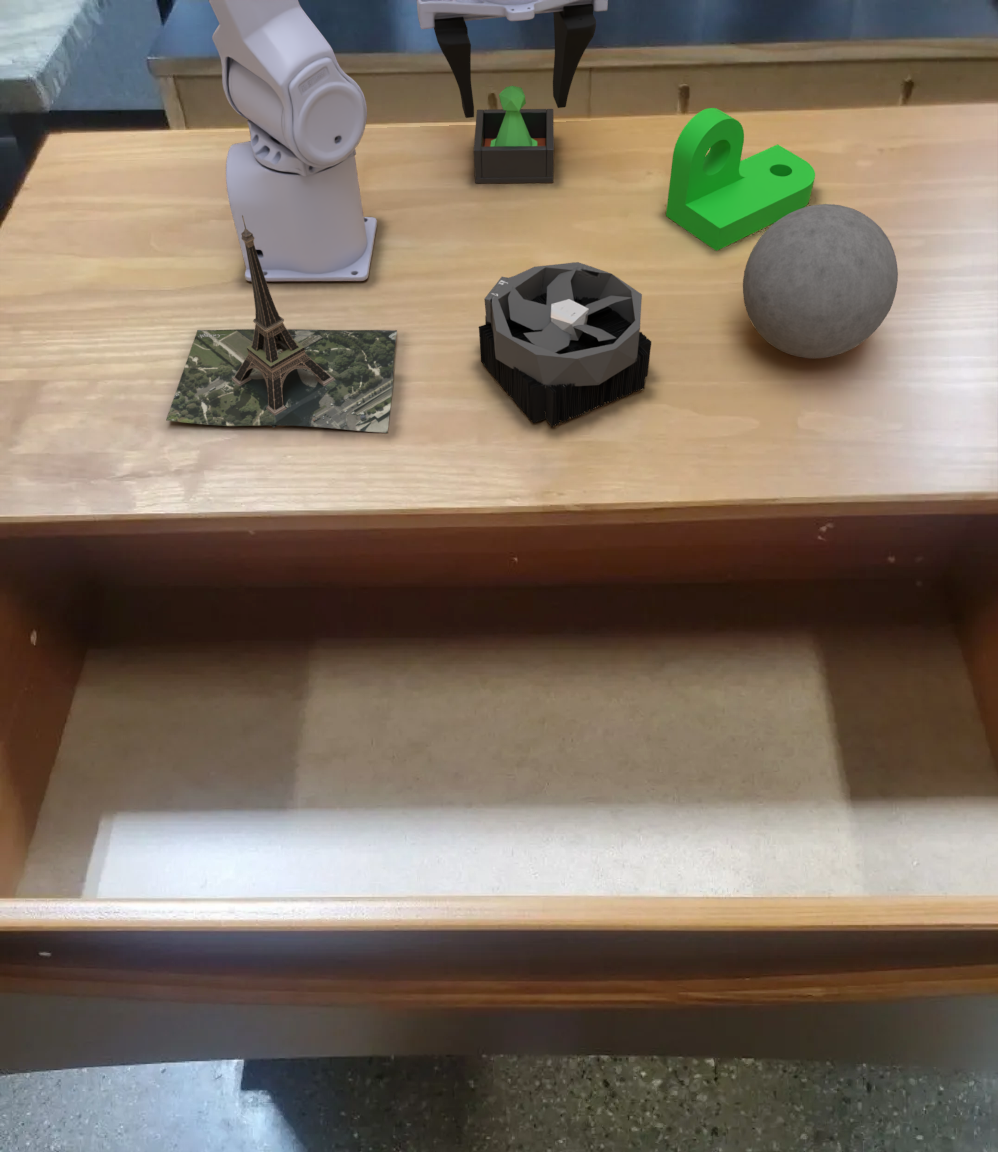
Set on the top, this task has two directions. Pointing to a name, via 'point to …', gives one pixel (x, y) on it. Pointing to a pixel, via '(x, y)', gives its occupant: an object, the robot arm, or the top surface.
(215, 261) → the top surface
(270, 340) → the eiffel tower figurine
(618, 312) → the cpu cooler
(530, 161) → the pad holder
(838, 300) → the decorative ball
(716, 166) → the mechanical part
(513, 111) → the game piece
